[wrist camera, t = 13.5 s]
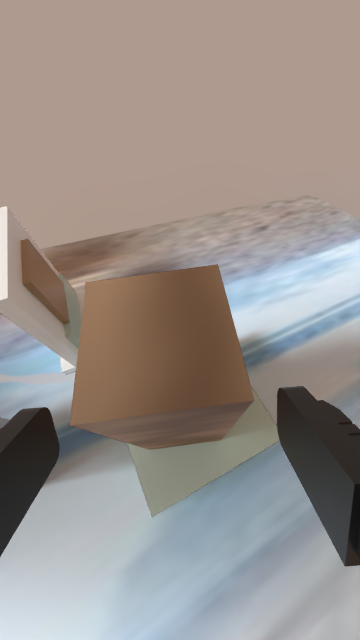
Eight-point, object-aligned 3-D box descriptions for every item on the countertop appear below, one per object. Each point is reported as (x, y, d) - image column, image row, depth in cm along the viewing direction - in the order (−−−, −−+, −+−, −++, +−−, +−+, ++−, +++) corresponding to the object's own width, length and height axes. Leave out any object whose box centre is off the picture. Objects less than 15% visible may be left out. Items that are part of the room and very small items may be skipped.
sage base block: (164, 502, 20) (152, 517, 15) (124, 393, 25) (104, 376, 20) (264, 442, 22) (284, 437, 17) (209, 351, 27) (211, 325, 21)
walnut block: (149, 449, 17) (69, 425, 6) (146, 379, 19) (85, 282, 9) (221, 440, 17) (254, 400, 6) (208, 371, 19) (217, 264, 9)
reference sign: (66, 374, 26) (-36, 311, 15) (56, 303, 31) (-26, 215, 20) (102, 361, 27) (30, 290, 15) (87, 293, 31) (24, 201, 20)
